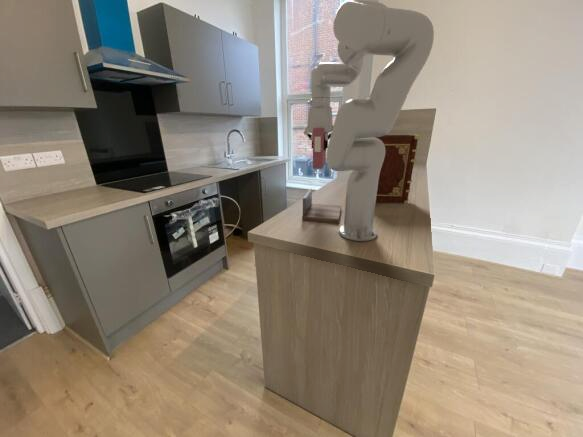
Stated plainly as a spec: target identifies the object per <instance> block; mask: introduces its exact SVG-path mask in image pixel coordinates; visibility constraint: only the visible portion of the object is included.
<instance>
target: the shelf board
mask: <svg viewBox="0 0 583 437" xmlns="http://www.w3.org/2000/svg"><path fill="white" fill-rule="evenodd" d="M341 212H342V205H336V204H322V203H320V204H319V203H312V205H311V207H310V209H309V211H308V212H307V214H306V216H304V215H303V214H302V217H301V221H302V222H311V223H322V224H334V225H335V224H336V225H339V223H340V217H341Z"/></svg>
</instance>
